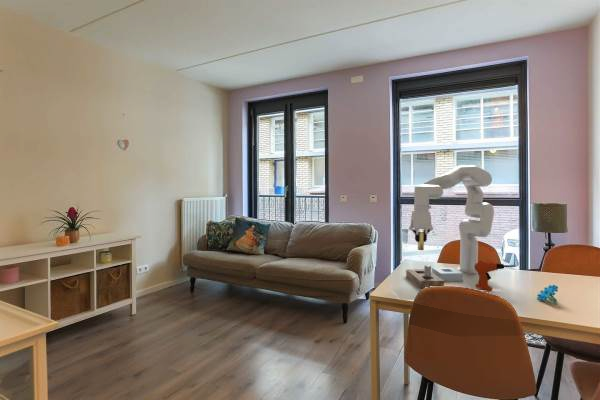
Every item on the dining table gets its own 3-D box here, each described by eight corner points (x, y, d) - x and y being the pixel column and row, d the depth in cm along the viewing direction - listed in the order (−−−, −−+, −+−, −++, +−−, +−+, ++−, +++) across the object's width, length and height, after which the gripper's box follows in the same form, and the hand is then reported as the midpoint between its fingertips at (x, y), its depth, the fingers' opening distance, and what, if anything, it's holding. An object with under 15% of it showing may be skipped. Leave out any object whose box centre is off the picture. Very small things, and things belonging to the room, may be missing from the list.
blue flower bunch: (534, 292, 165) (553, 280, 161) (544, 301, 164) (564, 290, 159) (537, 302, 156) (558, 290, 151) (548, 312, 154) (569, 300, 150)
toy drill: (519, 291, 166) (515, 261, 166) (475, 291, 175) (472, 262, 175) (517, 288, 171) (514, 259, 171) (475, 288, 179) (472, 260, 179)
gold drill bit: (422, 249, 190) (422, 231, 190) (424, 250, 187) (425, 232, 186) (416, 249, 190) (417, 231, 190) (418, 250, 187) (419, 232, 186)
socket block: (452, 275, 199) (452, 267, 199) (462, 282, 187) (462, 273, 187) (431, 276, 199) (432, 267, 199) (440, 282, 187) (440, 273, 187)
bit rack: (427, 277, 196) (427, 269, 196) (443, 290, 174) (444, 280, 174) (406, 278, 196) (406, 269, 195) (420, 290, 174) (420, 281, 173)
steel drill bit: (429, 284, 181) (429, 265, 181) (431, 285, 178) (432, 266, 178) (423, 284, 181) (423, 265, 181) (425, 285, 178) (425, 267, 178)
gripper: (433, 207, 191) (432, 240, 192) (404, 207, 191) (403, 240, 192) (439, 208, 184) (438, 242, 185) (408, 208, 183) (408, 242, 184)
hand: (420, 241), depth 188 cm, fingers closed on gold drill bit, 3 cm apart
